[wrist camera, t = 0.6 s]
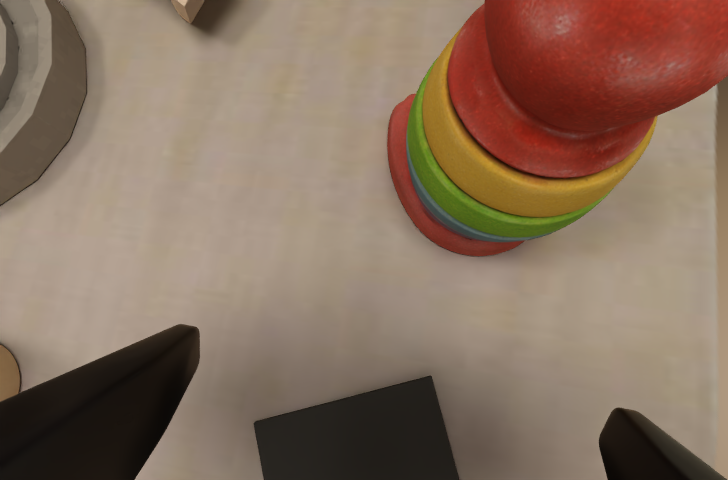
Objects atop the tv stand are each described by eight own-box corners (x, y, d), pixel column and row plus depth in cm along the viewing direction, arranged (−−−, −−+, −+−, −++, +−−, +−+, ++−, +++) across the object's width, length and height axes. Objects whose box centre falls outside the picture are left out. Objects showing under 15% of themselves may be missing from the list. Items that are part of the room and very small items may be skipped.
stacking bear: (560, 106, 26) (947, -324, 9) (566, 265, 24) (1078, 120, 7) (389, 98, 26) (433, -340, 9) (381, 254, 24) (416, 87, 7)
